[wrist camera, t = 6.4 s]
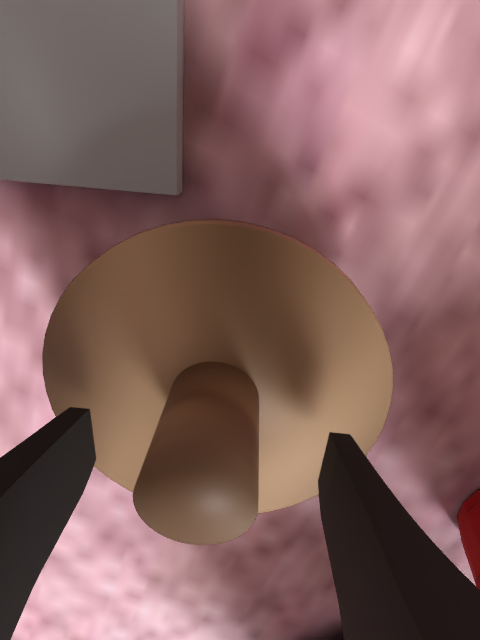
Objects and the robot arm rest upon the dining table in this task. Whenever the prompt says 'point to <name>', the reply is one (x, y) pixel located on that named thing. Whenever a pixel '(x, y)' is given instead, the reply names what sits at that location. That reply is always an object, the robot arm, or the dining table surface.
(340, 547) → the robot arm
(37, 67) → the mat
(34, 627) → the dining table surface
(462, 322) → the dining table surface
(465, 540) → the plastic cup
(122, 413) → the lid
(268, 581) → the dining table surface
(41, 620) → the dining table surface
